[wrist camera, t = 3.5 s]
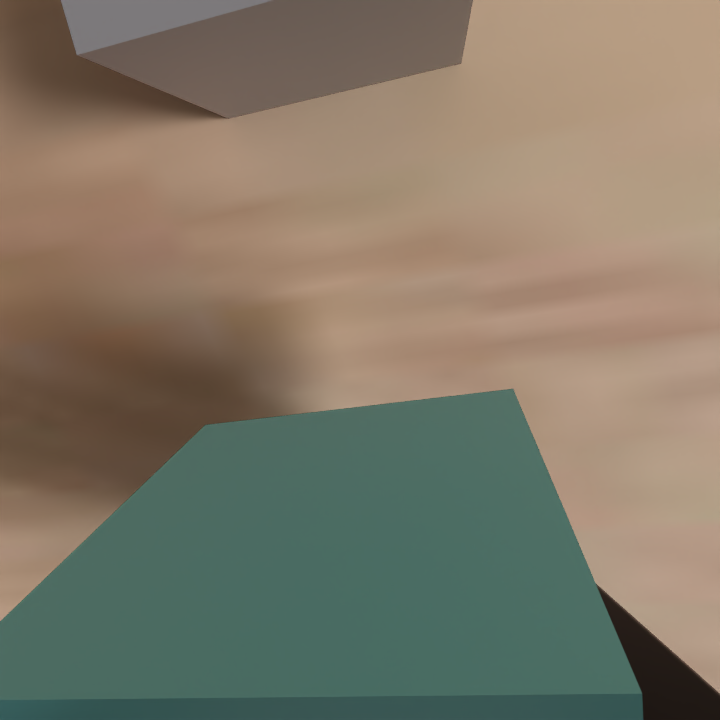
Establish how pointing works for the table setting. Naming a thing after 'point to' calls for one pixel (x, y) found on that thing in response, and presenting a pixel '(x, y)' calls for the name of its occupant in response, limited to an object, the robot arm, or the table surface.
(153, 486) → the teal cube
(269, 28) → the gray cube
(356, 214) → the table surface
